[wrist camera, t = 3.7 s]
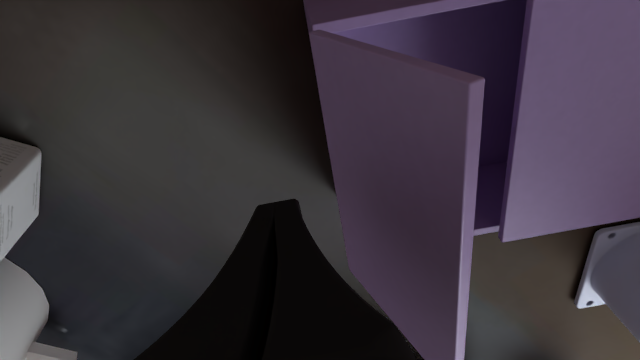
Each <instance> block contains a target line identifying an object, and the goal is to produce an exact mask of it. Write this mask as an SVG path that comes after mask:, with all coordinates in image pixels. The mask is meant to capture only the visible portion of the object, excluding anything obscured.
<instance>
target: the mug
mask: <svg viewBox="0 0 640 360" xmlns="http://www.w3.org/2000/svg"><path fill="white" fill-rule="evenodd" d="M48 314H49V303H48V301H47V299H46V296H45V294H44V291H43V289H42V288H41V287H40V286H39V285H38V283H37V282H36V281H35V280H34V279H33V278H32V277H31V276H30V275H29V274H28V273H27V272H26V271H25V270H23V269H21V268H20V267H18V266H17V265H15V264H14V263H12V262H11V261H9V260H8V259H6V258H5V257H4V258H3V259H2V260H1V262H0V360H77V352H74V351H70V350H66V349H62V348H58V347H53V346H49V345H45V344H41V343H37V342H35V341H36V340H37V338H38V336H39V335H40V333H41V331H42V329H43V328H44V326H45V324H46V323H47V321H48Z"/></svg>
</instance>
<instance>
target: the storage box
mask: <svg viewBox="0 0 640 360" xmlns="http://www.w3.org/2000/svg"><path fill="white" fill-rule="evenodd" d="M303 2H304V8H305V14H306V20H307V26H308V32H309V33H310V32H312V31H315V30H323V31H327V32H330V33H333V34H337V35H340V36H344V37H347V38H350V39H354V40H357V41H361V42H364V43H368V44H371V45H374V46H378V47H381V48H385V49H388V50H392V51H395V52H398V53H402V54H405V55H409V56H412V57H416V58H419V59H422V60H426V61H429V62H433V63H436V64H440V65H443V66H446V67H450V68H453V69H457V70H460V71H464V72H467V73H470V74H474V75H477V76H481V77H484V79H485V84H484V98H483V111H482V125H481V138H480V152H479V165H478V179H477V192H476V206H475V219H474V233H473V236H474V235H480V234H485V233H491V232H496V231H499V235H498V238H499V239H500V240H501V242H507V241H513V240H518V239H524V238H529V237H535V236H540V235H546V234H551V233H557V232H563V231H568V230H574V229H579V228H585V227H590V226H596V225H601V224H607V223H612V222H618V221H623V220H629V219H634V218H640V0H303ZM309 38H310V35H309ZM310 44H311V40H310ZM311 50H312V46H311ZM312 55H313V52H312ZM313 61H314V58H313ZM314 67H315V64H314ZM315 73H316V70H315ZM316 79H317V76H316ZM317 85H318V82H317ZM318 91H319V88H318ZM319 97H320V94H319ZM320 103H321V100H320ZM321 108H322V106H321ZM322 114H323V111H322ZM323 120H324V117H323ZM324 126H325V123H324ZM325 132H326V129H325ZM326 138H327V135H326ZM327 144H328V141H327ZM328 150H329V147H328ZM329 155H330V153H329ZM330 161H331V159H330ZM331 167H332V165H331ZM332 173H333V171H332ZM333 179H334V176H333ZM334 185H335V182H334ZM335 191H336V188H335ZM336 196H337V194H336ZM337 201H338V200H337Z"/></svg>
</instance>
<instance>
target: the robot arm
mask: <svg viewBox="0 0 640 360" xmlns="http://www.w3.org/2000/svg"><path fill="white" fill-rule="evenodd" d="M574 304H575V305H576V307H577V308H586V307H592V306H597V305H603V304H606V305H607V306H608V307H609V308H610V309H611V310H612V311H613V313H614V314H615V315H616V316H617V317H618V318H619V319H620V321H621V322H622V323H623V324H624V325H625V326H626V328H627V329H628V330H629V331H630V332H631V333H632V334H633V336H634V337H635V338H636V339H637V340H638V341H639V342H640V222H635V223H629V224H624V225H618V226H613V227H607V228H602V229H599V230H598V231H596V232H595V234H594V237H593V240H592V244H591V247H590V250H589V254H588V257H587V260H586V264H585V267H584V270H583V274H582V277H581V280H580V284H579V287H578V290H577V294H576V297H575V300H574ZM134 360H416V358H415V356H414V354H413V352H412V351H411V349H410V347H409V345H408V344H407V342H406V341H405V339H404V338H403V336H402V335H401V333H400V332H399V330H398V329H397V327H396V326H395V324H393V323H392V322H391V321H389V320H388V319H387V318H385V317H384V316H383V315H381V314H380V313H379V312H378V311H376V310H375V309H374V308H373V307H372V306H370V305H369V304H368V303H367V302H366V301H365V300H363V299H362V298H361V297H360V296H359V295H358V294H357V293H356V292H355V291H354V290H353V289H352V288H351V287H350V286H349V285H348V284H347V283H346V282H345V281H344V280H343V279H342V277H341V276H340V275H339V274H338V273H337V272H336V271H335V269H334V268H333V267H332V266H331V264H330V263H329V262H328V261H327V259H326V258H325V256H324V255H323V254H322V252H321V251H320V249H319V248H318V246H317V245H316V243H315V241H314V240H313V238H312V236H311V234H310V233H309V231H308V229H307V227H306V225H305V223H304V221H303V218H302V214H301V210H300V206H299V201H297V200H296V199H290V200H285V201H279V202H274V203H268V204H263V205H258V206H257V208H256V209H255V211H254V213H253V215H252V217H251V219H250V221H249V223H248V225H247V227H246V229H245V231H244V233H243V235H242V237H241V238H240V240H239V242H238V244H237V245H236V247H235V249H234V251H233V252H232V254H231V255H230V257H229V258H228V260H227V261H226V263H225V265H224V266H223V268H222V269H221V271H220V272H219V273H218V275H217V276H216V278H215V279H214V280H213V282H212V283H211V284H210V286H209V287H208V288H207V289H206V291H205V292H204V293H203V294H202V296H201V297H200V298H199V299H198V300H197V301H196V302H195V303H194V304H193V305H192V307H191V308H190V309H189V310H188V311H187V312H186V313H185V314H184V315H183V316H182V317H181V318H180V319H179V320H178V321H177V322H176V323H175V324H174V325H173V326H172V327H171V328H170V329H169V330H168V331H167V332H166V333H165V334H164V335H162V336H161V337H160V338H159V339H158V340H157V341H156V342H155V343H153V344H152V345H151V346H150V347H149V348H148V349H146V350H145V351H144V352H143V353H141V354H140V355H139V356H138V357H136V358H135V359H134Z"/></svg>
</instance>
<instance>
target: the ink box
mask: <svg viewBox="0 0 640 360" xmlns="http://www.w3.org/2000/svg"><path fill="white" fill-rule="evenodd" d="M41 155H42V154H41V150H40V149H39V148H37V147H34V146H31V145H27V144H24V143H20V142H17V141H13V140H9V139H6V138H2V137H0V262H1V260H2V259H3V258H4V257H5V256H6V254H7V253H8V252H9V251H10V249H11V248H12V247H13V246H14V244H15V243H16V242H17V241H18V239H19V238H20V237H21V236H22V234H23V233H24V232H25V231H26V230H27V228H28V227H29V226H30V225H31V224H32V222H33V221H34V220H35V219H36V217H37V216H38V214H39V196H40V176H41Z"/></svg>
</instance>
